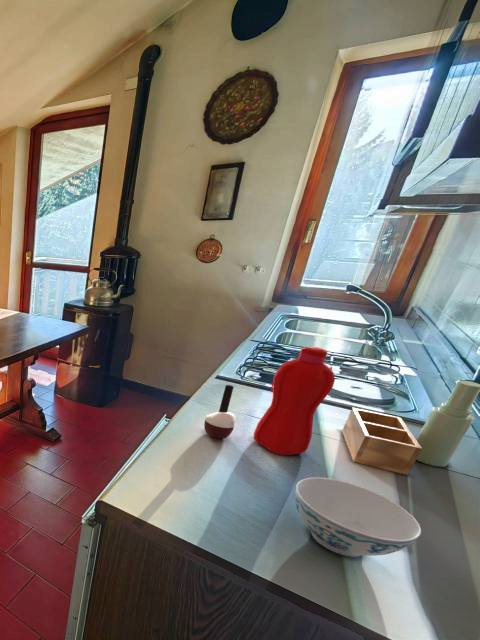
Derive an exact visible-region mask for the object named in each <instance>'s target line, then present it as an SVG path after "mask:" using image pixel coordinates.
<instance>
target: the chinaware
mask: <svg viewBox="0 0 480 640" xmlns="http://www.w3.org/2000/svg"><path fill="white" fill-rule="evenodd" d="M294 490H295V493H294V500H295V507H296V510H297V514H298V515H299V518H300V520H301V521H302V522H303V523H304V525H305V526H306V528H307V529H308V530H309V531H310V534H311V535H312V537H313V538H314V540H315V541H316V542H317V543H318V544H319V545H321V546H323V547H324V548H325V549H327V550H329V551H331V552H334V553H336V554H339V555H342V556H345V557H351V558H352V557H353V558H355V557H361V556H369V557H371V556H374V557H375V556H385V555H389V554H394V553H397V552H399V551H402V550H403V549H405V548H408V546H410V545H411V544H413V543H414V542H415V541H417V540H418V538H419V537H420V536H421V535H422V529H421V525H420V524H419V522H418V520H416V518H415V517H414V516H413V515H412V514H411V513H409V512H408V511H407V510H406V509H405V508H404V507H402V506H401V505H399V504H397V503H396V502H394V501H393V500H390V499H389V498H388V497H385V496H384V495H381V494H379V493H378V492H375V491H372V490H370V489H368V488H366V487H363V486H360V485H357V484H354V483H350V482H347V481H343V480H338V479H334V478H328V477H308V478H307V477H306V478H303V479H301V480H299V481H298V482H297V484H296V486H295V489H294Z"/></svg>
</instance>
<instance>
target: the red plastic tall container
mask: <svg viewBox="0 0 480 640" xmlns="http://www.w3.org/2000/svg"><path fill="white" fill-rule="evenodd" d="M327 354H328V350H327V349H325V348H322V347H318V346H311V347H301V349H300V352H299V353H298V356H297V358H294V359H291V360H288V361H285V362H284V363H281V364H280V366H279V367H278V369H277V370H276V372H275V374H274V375H273V381H272V383H271V387H270V391H271V393H272V399H271V404H270V405H269V407H268V408H267V410H266V411H265V413H264V414H263V415H262V417H261V418H260V419H259V420H258V422H257V425H256V427H255V430H254V432H253V440H254V441H255V442H256V443H257V444H259V445H260V446H262V447H264V448H265V449H267V450H268V451H270V452H271V453H274V454H277V455H280V456H292V455H302V454H303V453H305V452H306V451H307V450H308V448H309V446H310V443H311V440H312V435H313V426H314V425H313V424H314V415H315V413H316V411H317V409H318V408H319V406H320V405H321V404H322V403H323V401H324V400H325V399H326V398H327V396H329V394H330V393H331V391H332V389H333V387H334V384H335V381H336V378H335V374H334V373H335V372H334V371H333V370H332V369H331V368H330V367H329V366H328V365H327V364H325V360H326V358H328V356H327Z"/></svg>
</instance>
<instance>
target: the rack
mask: <svg viewBox="0 0 480 640" xmlns="http://www.w3.org/2000/svg"><path fill="white" fill-rule="evenodd" d="M341 432H342V435H343V438H344V440H345V443H346V446H347V448H348V452H349V454H350V457H351V459H352V462H354V463H358V464H361V465H364V466H365V465H366V466H368V467H369V466H370V467H373V468H377V469H382V470H386V471H389V472H394V473H397V474H401V475H405V476H408V475H409V473H410V472H411V470H412V468H413V466H414V464H415V463H416V461H417V460H416V459H417V457H418V455H419V454H420V452H421V450H422V447H421V446H420V445H419V443H418V442H417V440H416V439H417V438H416V437H415V436H414V434H413V433H412V431H411V430H410V428H409V427H408V426H407V425H406V423H405V421H404V420H403V419H402V417H401V416H396V415H390V414H384V413H380V412H375V411H371V410H367V409H360V408H355V407H352V408H351V409H350V412H349V414H348V417H347V419H346V421H345V423H344V425H343V428H342V430H341Z"/></svg>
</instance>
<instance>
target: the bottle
mask: <svg viewBox="0 0 480 640" xmlns="http://www.w3.org/2000/svg"><path fill="white" fill-rule="evenodd" d="M479 393H480V383H478V382H474V381H468V380H457V381H456V384H455V386H454V387H453V389H452V391H451V393H450V394H449V396H448V398H447V400H446V402H441V404H440V406H434V407H432V409H431V411H430V413H429V415H428V416H427V418H426V420H425V421H424V424H423V426H422V427H421V429H420V431H419V433H418V435H417V436H416V438H415V439H416V440H417V442H418V443H419V445H420V446H421V447H422V450H421V452H420V454H419V455H418V457H417V459H416V461H418V462H421V463H423V464H426V465H430V466H434V467H440V468H441V467H446V466H447V465H448V464H449V462H450V461H451V459H452V457H453V456H454V454H455V452H456V450H457V449H458V448H459V445H460V444H461V443H462V441H463V439H464V437H465V436H466V433H467V432H468V430H469V429H470V427H471V425H472V424H473V422H474V420H475V418H476V417H475V416H474V415H472V413H473V410H472V409H471V408H472V405H473V404H474V402H475V401H476V399H477V397H478V396H479Z"/></svg>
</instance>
